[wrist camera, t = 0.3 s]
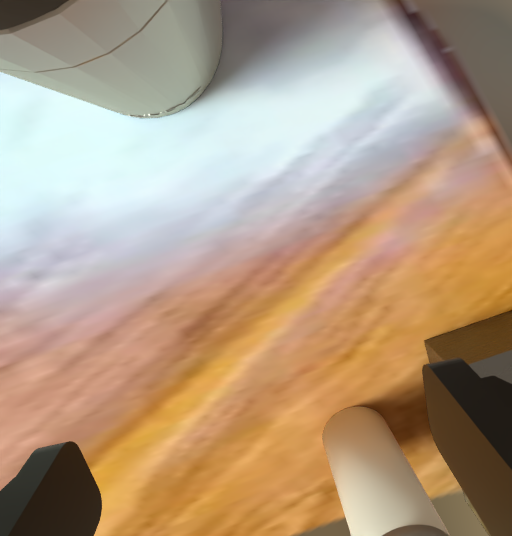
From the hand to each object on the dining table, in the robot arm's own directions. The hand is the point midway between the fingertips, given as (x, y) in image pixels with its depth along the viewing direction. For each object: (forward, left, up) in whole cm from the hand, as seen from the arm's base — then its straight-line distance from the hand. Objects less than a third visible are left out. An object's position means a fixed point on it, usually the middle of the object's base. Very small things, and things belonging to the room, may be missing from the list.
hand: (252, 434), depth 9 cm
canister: (+17, +3, -18) cm, 25 cm away
